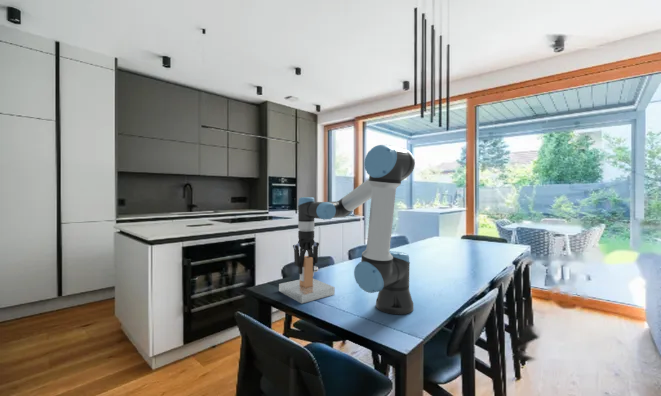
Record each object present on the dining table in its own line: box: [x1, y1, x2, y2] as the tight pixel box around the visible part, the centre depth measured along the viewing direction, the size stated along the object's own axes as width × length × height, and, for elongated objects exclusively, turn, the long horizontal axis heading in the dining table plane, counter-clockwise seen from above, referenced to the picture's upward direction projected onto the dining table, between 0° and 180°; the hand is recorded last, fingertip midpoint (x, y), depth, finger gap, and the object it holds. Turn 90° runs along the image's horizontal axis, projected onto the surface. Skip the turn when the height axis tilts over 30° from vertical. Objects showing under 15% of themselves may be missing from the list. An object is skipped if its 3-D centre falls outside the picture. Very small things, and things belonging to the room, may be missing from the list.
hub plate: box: [278, 278, 336, 305], centre depth 140 cm, size 20×18×4 cm
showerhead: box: [313, 265, 319, 277], centre depth 162 cm, size 9×7×10 cm
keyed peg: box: [299, 255, 314, 288], centre depth 140 cm, size 5×4×14 cm
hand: (306, 279), depth 140 cm, fingers closed on keyed peg, 4 cm apart
